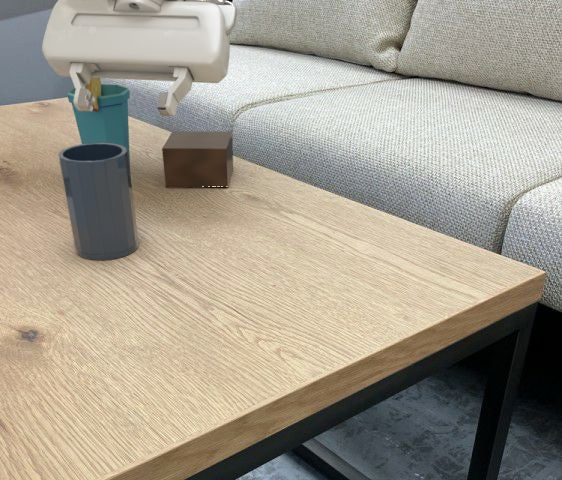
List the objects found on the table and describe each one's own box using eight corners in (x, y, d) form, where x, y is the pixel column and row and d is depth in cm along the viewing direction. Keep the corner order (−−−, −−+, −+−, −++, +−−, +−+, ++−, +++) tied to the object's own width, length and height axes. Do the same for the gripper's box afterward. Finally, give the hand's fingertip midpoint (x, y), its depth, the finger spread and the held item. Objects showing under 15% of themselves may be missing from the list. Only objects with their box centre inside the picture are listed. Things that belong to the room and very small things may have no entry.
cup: (77, 160, 99) (58, 44, 91) (132, 155, 101) (118, 41, 93) (83, 191, 88) (62, 63, 80) (145, 185, 90) (130, 59, 82)
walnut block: (165, 187, 90) (161, 148, 87) (175, 168, 96) (172, 131, 93) (227, 188, 89) (226, 148, 87) (233, 168, 96) (231, 131, 93)
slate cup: (67, 260, 71) (49, 161, 66) (84, 235, 77) (69, 142, 71) (131, 260, 71) (118, 162, 65) (143, 235, 76) (132, 142, 71)
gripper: (246, 18, 77) (225, 132, 75) (76, 13, 81) (50, 122, 79) (233, -25, 71) (209, 97, 69) (50, -28, 75) (21, 88, 73)
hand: (123, 110), depth 74 cm, fingers open, 8 cm apart
